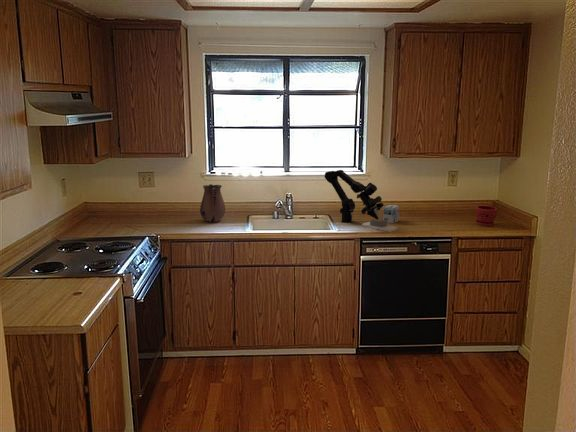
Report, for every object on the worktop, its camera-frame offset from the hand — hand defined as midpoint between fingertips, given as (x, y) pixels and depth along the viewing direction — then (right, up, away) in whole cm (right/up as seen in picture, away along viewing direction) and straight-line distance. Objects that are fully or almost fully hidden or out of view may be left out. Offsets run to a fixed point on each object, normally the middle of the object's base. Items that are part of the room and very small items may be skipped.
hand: (379, 218), depth 325 cm
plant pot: (+73, -4, +9) cm, 73 cm away
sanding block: (-1, -4, +2) cm, 5 cm away
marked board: (0, -6, +1) cm, 6 cm away
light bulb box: (+11, -2, +19) cm, 23 cm away
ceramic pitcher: (-112, -2, +21) cm, 114 cm away
